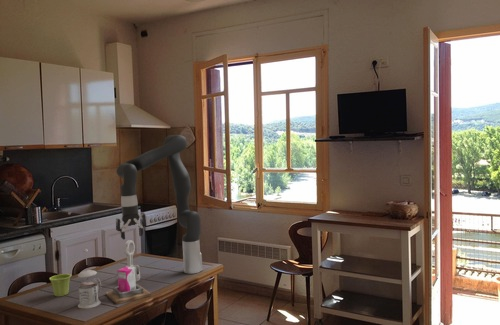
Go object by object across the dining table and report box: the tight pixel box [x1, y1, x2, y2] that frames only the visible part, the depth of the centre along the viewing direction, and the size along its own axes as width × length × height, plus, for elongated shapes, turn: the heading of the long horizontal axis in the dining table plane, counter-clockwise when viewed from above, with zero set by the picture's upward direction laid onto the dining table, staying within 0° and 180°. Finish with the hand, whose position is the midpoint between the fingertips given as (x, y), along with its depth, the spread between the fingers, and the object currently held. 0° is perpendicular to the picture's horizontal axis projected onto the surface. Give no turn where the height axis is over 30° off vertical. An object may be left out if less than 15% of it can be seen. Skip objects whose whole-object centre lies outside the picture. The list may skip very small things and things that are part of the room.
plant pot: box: [49, 273, 72, 297], centre depth 205 cm, size 9×9×9 cm
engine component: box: [123, 239, 141, 282], centre depth 224 cm, size 11×20×10 cm
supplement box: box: [116, 266, 137, 292], centre depth 200 cm, size 6×6×12 cm
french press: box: [77, 248, 102, 309], centre depth 190 cm, size 10×12×25 cm
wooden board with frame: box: [105, 283, 152, 305], centre depth 200 cm, size 16×16×3 cm
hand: (132, 237), depth 207 cm, fingers open, 8 cm apart
